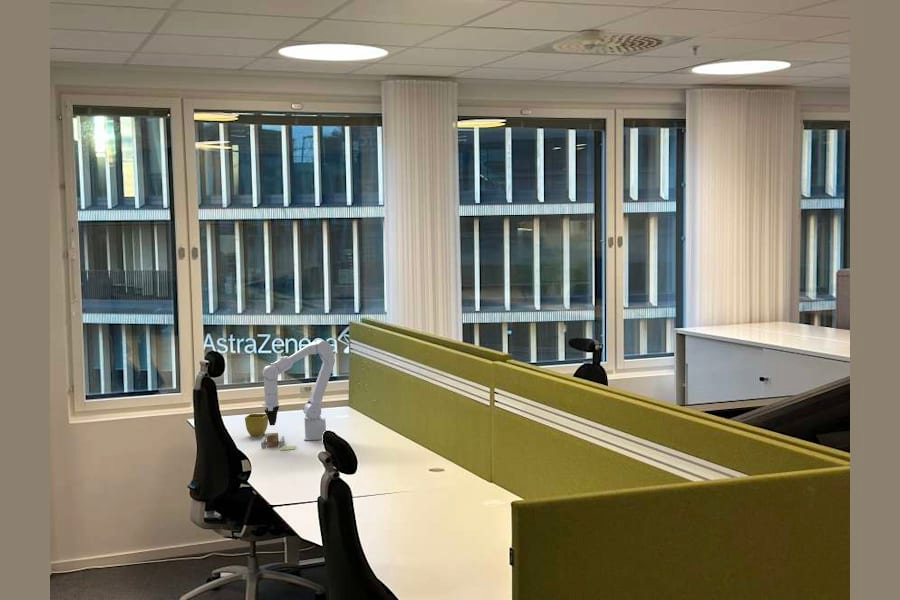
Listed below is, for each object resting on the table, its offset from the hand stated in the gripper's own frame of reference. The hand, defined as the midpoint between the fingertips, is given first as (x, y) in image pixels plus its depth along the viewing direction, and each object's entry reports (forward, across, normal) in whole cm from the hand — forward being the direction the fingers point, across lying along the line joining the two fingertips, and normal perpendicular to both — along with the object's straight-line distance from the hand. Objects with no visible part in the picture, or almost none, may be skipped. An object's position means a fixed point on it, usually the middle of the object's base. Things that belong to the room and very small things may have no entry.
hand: (272, 424), depth 402 cm
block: (+8, +4, 0) cm, 10 cm away
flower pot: (+9, -18, -9) cm, 22 cm away
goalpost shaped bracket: (+8, +4, 0) cm, 9 cm away
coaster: (+8, +12, +7) cm, 16 cm away
